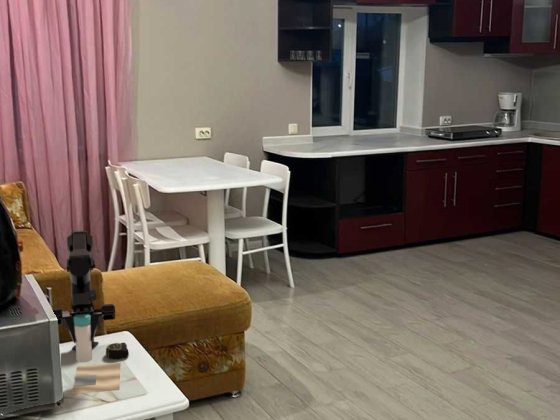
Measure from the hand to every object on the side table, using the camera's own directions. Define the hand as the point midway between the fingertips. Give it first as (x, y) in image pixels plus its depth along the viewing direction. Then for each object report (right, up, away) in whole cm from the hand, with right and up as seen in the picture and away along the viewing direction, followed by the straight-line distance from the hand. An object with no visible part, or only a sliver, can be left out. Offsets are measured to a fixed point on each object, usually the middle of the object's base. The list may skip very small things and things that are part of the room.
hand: (83, 341), depth 194 cm
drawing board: (+2, -12, +6) cm, 14 cm away
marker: (0, -6, +3) cm, 6 cm away
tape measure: (+5, -9, +22) cm, 25 cm away
